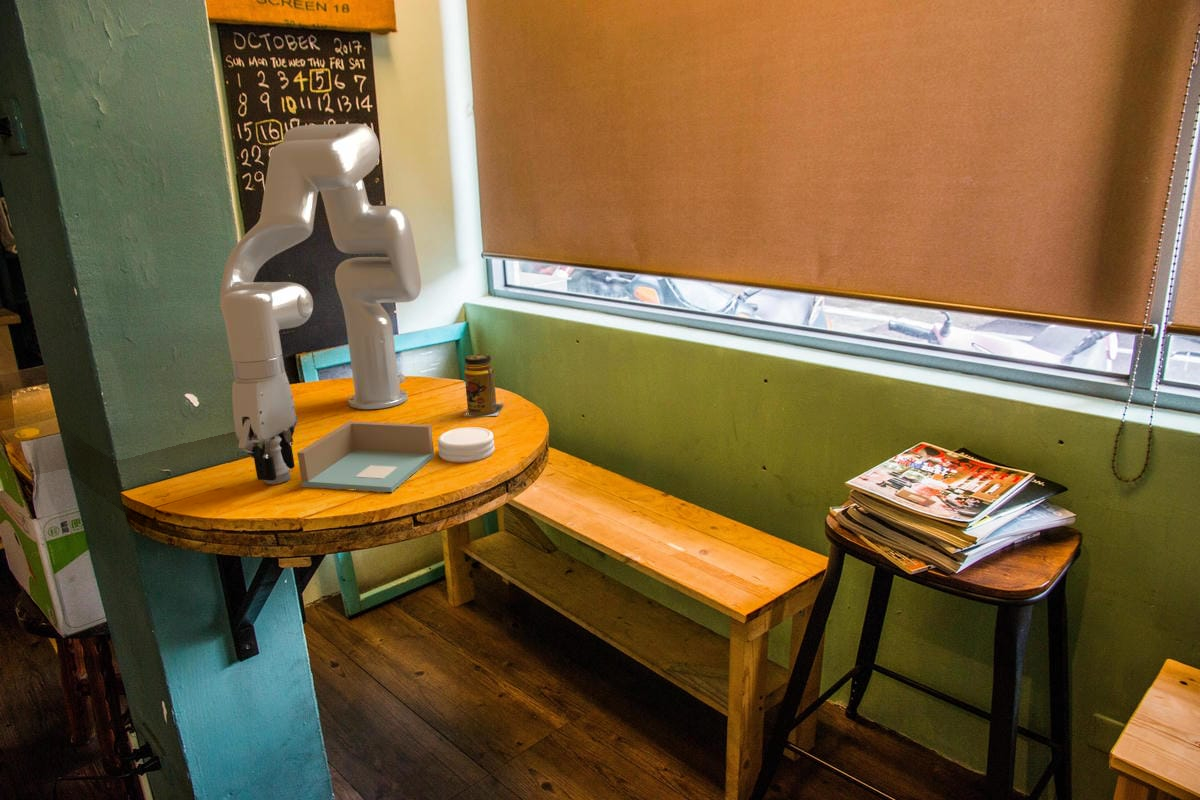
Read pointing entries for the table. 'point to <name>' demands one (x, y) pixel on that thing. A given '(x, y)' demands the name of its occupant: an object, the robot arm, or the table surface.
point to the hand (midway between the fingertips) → (276, 472)
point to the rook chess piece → (278, 462)
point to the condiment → (480, 387)
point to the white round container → (466, 444)
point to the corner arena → (366, 456)
